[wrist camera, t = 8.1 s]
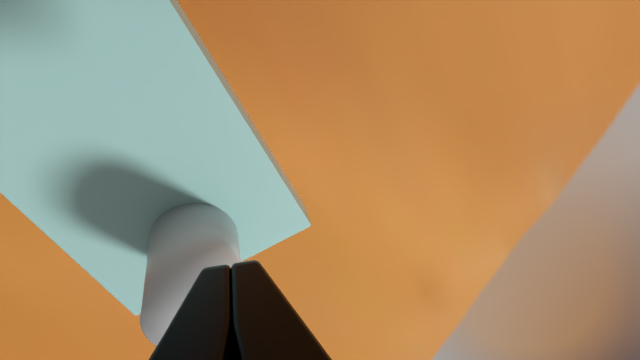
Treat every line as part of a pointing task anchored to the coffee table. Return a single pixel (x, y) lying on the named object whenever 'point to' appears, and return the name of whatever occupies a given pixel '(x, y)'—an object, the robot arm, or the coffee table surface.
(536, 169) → the coffee table surface
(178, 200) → the cover
